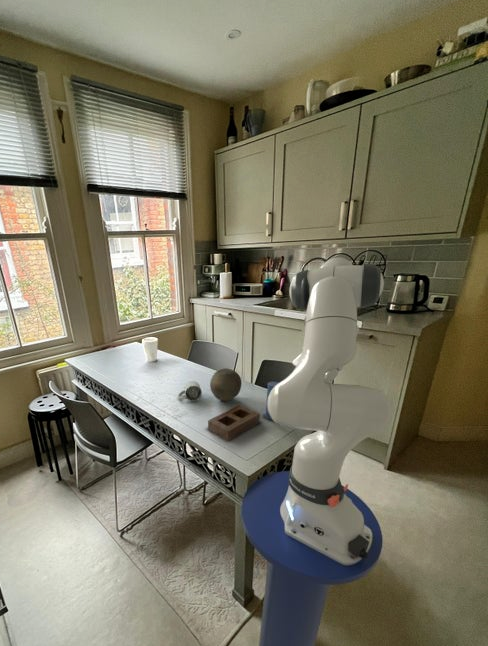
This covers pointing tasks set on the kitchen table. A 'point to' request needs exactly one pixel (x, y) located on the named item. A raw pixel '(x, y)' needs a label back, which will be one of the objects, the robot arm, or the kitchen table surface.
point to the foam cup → (150, 348)
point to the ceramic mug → (191, 391)
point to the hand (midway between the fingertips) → (300, 382)
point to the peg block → (233, 422)
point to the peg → (270, 387)
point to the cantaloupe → (225, 384)
